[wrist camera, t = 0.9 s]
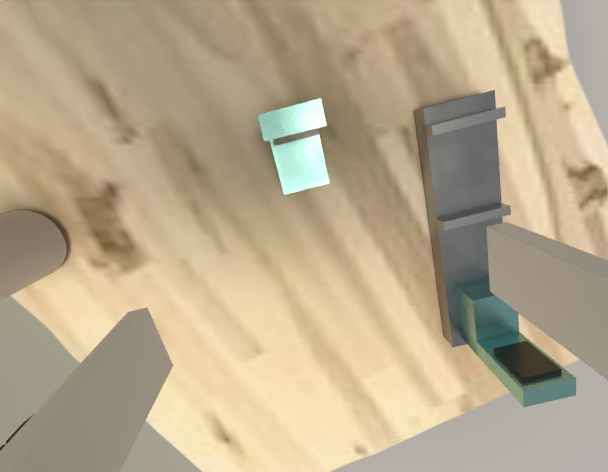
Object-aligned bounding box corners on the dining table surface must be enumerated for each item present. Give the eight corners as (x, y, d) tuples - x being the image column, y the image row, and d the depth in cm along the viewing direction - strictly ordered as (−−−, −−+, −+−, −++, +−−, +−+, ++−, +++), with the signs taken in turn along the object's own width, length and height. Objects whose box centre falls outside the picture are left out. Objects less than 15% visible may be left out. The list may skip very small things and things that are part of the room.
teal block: (267, 124, 28) (257, 114, 19) (310, 112, 27) (321, 98, 19) (284, 189, 29) (282, 208, 21) (325, 179, 29) (341, 194, 21)
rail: (414, 110, 28) (490, 90, 17) (480, 93, 28) (598, 62, 17) (443, 336, 35) (511, 420, 24) (496, 323, 34) (588, 402, 24)
